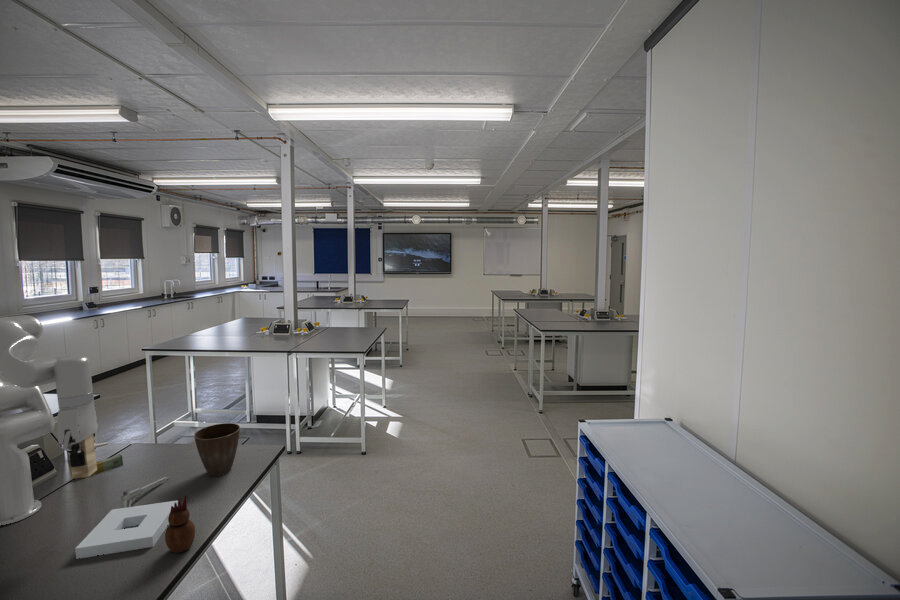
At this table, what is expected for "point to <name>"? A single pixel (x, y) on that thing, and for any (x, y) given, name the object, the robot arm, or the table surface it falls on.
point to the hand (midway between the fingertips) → (83, 461)
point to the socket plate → (126, 530)
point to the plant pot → (217, 447)
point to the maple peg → (86, 459)
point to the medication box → (108, 464)
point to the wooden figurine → (179, 528)
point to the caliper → (138, 493)
